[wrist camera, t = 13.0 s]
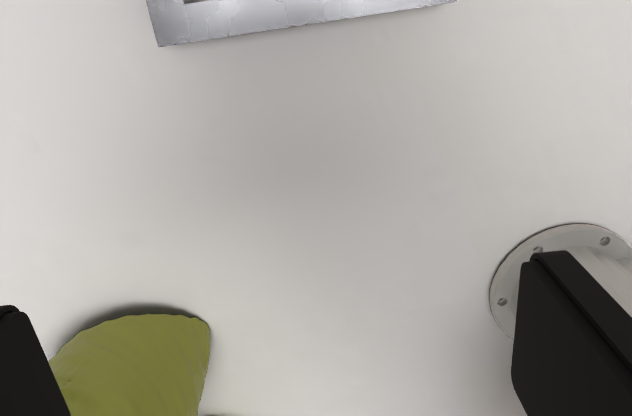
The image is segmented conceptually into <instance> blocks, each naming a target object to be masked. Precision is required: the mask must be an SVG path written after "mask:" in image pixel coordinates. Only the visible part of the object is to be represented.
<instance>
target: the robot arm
mask: <svg viewBox="0 0 632 416" xmlns="http://www.w3.org/2000/svg"><path fill="white" fill-rule="evenodd" d="M489 300H490V307H491V311H492V313H493V316H494V318H495V320H496V322H497V323H498V325H499V326H500V328H501V330H502V331H503V332H504V333H505V334H506V335H507V336H508V337H510V338H512V339H513V340H514V345H513V356H512V366H511V377H512V383H513V386H514V389H515V391H516V394H517V396H518V398H519V400H520V401H521V403H522V405H523V407H524V409H525V411H526V413H527V415H528V416H632V248H631V247H630V246H629V245H628V244H627V243H626V242H625V241H624V240H623V239H621V238H620V237H619V236H617V235H616V234H615V233H614V232H612V231H610V230H607V229H605V228H603V227H600V226H595V225H590V224H571V225H564V226H559V227H555V228H552V229H549V230H546V231H544V232H541V233H539V234H537V235H535V236H533V237H531V238H530V239H528V240H527V241H525V242H524V243H522V244H521V245H519V246H518V247H517V248H516V249H515V250H514V251H513V252H512V253H511V254H509V255H508V257H507V258H506V259H505V261H504V262H503V263H502V264H501V266H500V267H499V269H498V271H497V273H496V275H495V276H494V279H493V282H492V285H491V288H490V299H489ZM0 416H71V414H70V411H69V409H68V406H67V404H66V402H65V399H64V397H63V395H62V393H61V390H60V388H59V386H58V383H57V381H56V379H55V377H54V374H53V372H52V370H51V367H50V365H49V363H48V361H47V358H46V356H45V354H44V351H43V349H42V347H41V345H40V342H39V340H38V338H37V335H36V333H35V331H34V328H33V326H32V324H31V322H30V319H29V317H28V316H27V314H25V313H24V312H20V311H19V309H18V308H16V307H15V306H12V305H5V306H0Z"/></svg>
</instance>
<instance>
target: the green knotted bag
mask: <svg viewBox="0 0 632 416" xmlns="http://www.w3.org/2000/svg"><path fill="white" fill-rule="evenodd" d="M209 355H210V330H209V327H208V325H207V324H206V323H205V322H203V321H200V320H199V319H198V318H195V317H194V318H188V317H186V316H184V315H169V314H144V315H128V316H123V317H121V318H118V319H115V320H108V321H104V322H103V323H101V324H99V325H97V326H94V327H92V328H89V329H86V330H83V331H80V332H79V333H78V334H77V335H76V336H75V337H74V338H73V339H72V340H70V341H69V342H68V343H66V344H65V345H64V346H63V347H62V348H61V349H60V350H59V352H58V353H57V354H56V355H55V356H54V357H53V358H52V359H51V360H50V361H49V362H48V363H49V365H50V367H51V370H52V372H53V374H54V377H55V379H56V381H57V383H58V386H59V388H60V390H61V393H62V395H63V397H64V399H65V402H66V404H67V406H68V409H69V411H70V414H71V416H197V413H198V406H199V403H200V400H201V396H202V391H203V387H204V380H205V377H206V373H207V368H208V362H209Z"/></svg>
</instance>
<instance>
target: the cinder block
mask: <svg viewBox="0 0 632 416" xmlns="http://www.w3.org/2000/svg"><path fill="white" fill-rule="evenodd" d="M452 2H457V0H146V3H147V6H148V10H149V14H150V17H151V21H152V25H153V28H154V32H155V36H156V40H157V43H158V47H163V46H169V45H176V44H182V43H189V42H196V41H202V40H209V39H215V38H222V37H229V36H235V35H242V34H248V33H255V32H261V31H268V30H275V29H281V28H288V27H294V26H301V25H307V24H314V23H321V22H327V21H334V20H340V19H347V18H354V17H360V16H367V15H373V14H380V13H386V12H393V11H400V10H406V9H413V8H419V7H426V6H433V5H439V4H446V3H452Z"/></svg>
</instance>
